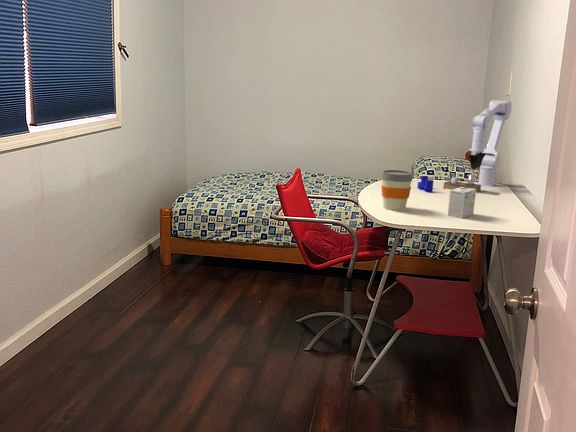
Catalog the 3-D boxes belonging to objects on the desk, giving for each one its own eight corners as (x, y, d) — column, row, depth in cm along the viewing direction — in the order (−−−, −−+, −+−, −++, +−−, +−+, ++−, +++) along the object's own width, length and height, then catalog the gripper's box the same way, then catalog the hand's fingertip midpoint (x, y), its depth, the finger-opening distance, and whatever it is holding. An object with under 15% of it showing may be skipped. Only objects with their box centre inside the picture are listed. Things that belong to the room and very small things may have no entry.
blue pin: (451, 187, 323) (452, 177, 322) (457, 188, 321) (458, 177, 320) (449, 188, 320) (451, 177, 319) (455, 189, 319) (457, 178, 318)
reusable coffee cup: (386, 211, 262) (389, 175, 259) (374, 205, 274) (377, 170, 271) (414, 211, 266) (418, 175, 262) (401, 204, 277) (404, 169, 274)
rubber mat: (484, 191, 317) (484, 190, 317) (501, 193, 314) (501, 192, 313) (480, 193, 311) (480, 193, 311) (497, 196, 307) (497, 195, 307)
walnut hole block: (448, 186, 326) (448, 180, 326) (480, 190, 318) (481, 184, 318) (443, 188, 319) (444, 182, 319) (476, 193, 312) (476, 187, 311)
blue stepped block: (417, 188, 320) (418, 175, 318) (426, 188, 320) (427, 176, 318) (422, 192, 308) (424, 180, 307) (432, 193, 308) (433, 180, 307)
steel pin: (467, 190, 319) (469, 173, 317) (474, 190, 317) (475, 174, 316) (466, 190, 316) (467, 174, 315) (472, 191, 315) (474, 175, 313)
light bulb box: (458, 212, 268) (461, 186, 266) (474, 214, 264) (476, 188, 262) (446, 215, 260) (449, 189, 258) (462, 218, 256) (465, 191, 254)
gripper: (474, 138, 325) (471, 165, 328) (466, 141, 312) (463, 169, 316) (488, 140, 321) (485, 167, 324) (481, 142, 309) (477, 170, 312)
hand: (475, 168), depth 320 cm, fingers open, 7 cm apart
